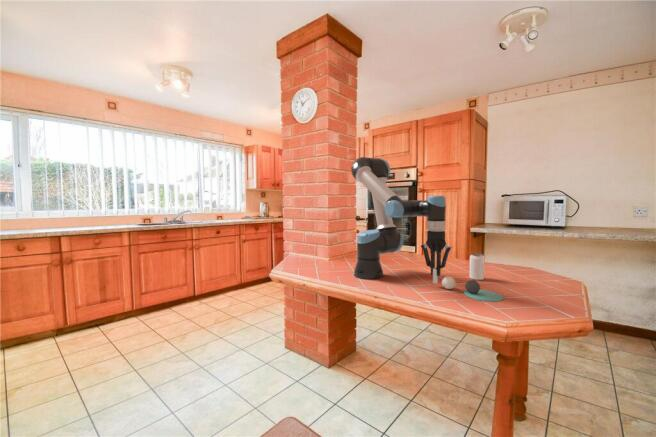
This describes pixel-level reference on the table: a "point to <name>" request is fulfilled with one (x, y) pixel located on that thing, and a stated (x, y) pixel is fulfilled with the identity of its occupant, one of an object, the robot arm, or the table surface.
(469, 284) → the object ball
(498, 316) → the table surface
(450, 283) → the cue ball
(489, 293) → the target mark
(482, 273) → the can
